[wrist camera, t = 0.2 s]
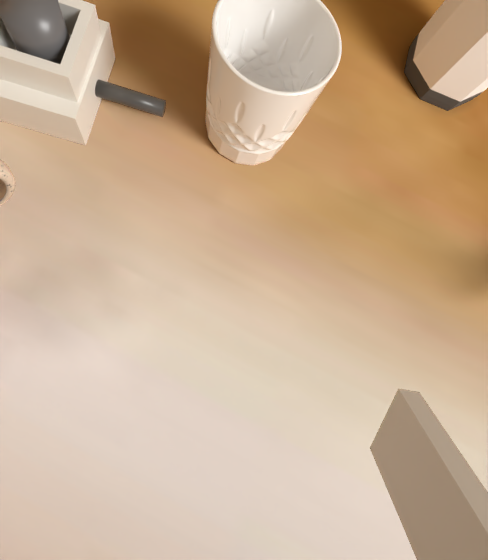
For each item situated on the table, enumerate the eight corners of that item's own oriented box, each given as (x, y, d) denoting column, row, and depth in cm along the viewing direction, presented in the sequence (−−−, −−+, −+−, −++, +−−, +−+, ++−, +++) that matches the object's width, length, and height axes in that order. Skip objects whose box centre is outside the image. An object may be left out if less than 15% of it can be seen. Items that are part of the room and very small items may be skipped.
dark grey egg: (65, 82, 26) (47, 36, 22) (13, 66, 26) (-15, 16, 22) (80, 41, 27) (66, -10, 23) (29, 25, 26) (6, -31, 23)
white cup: (180, 139, 31) (186, 44, 21) (226, 69, 33) (251, -48, 23) (265, 190, 32) (308, 119, 22) (305, 118, 34) (361, 24, 24)
